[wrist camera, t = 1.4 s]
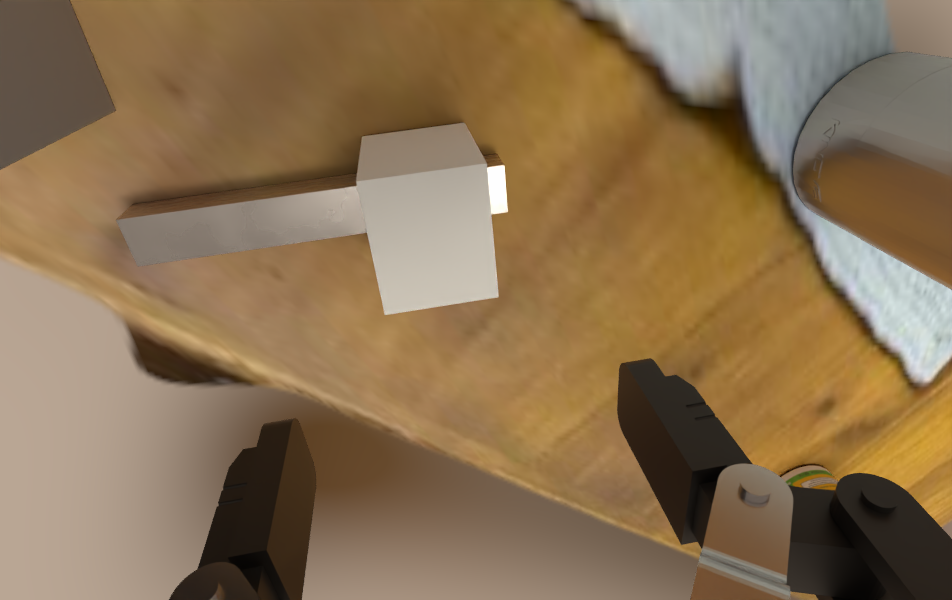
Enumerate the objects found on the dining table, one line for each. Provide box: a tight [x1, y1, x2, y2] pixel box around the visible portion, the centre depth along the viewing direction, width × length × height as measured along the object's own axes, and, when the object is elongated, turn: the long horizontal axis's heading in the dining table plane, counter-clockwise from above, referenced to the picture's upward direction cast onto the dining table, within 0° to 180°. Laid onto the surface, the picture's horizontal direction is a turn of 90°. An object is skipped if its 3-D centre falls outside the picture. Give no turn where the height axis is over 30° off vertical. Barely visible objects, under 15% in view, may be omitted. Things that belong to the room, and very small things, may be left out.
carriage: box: [356, 123, 499, 315], centre depth 25 cm, size 5×6×7 cm
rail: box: [116, 154, 508, 266], centre depth 27 cm, size 18×2×2 cm, turn 96°
